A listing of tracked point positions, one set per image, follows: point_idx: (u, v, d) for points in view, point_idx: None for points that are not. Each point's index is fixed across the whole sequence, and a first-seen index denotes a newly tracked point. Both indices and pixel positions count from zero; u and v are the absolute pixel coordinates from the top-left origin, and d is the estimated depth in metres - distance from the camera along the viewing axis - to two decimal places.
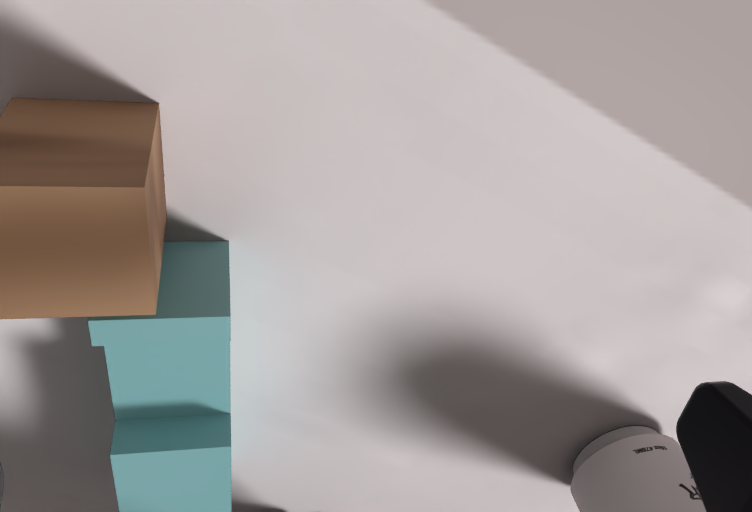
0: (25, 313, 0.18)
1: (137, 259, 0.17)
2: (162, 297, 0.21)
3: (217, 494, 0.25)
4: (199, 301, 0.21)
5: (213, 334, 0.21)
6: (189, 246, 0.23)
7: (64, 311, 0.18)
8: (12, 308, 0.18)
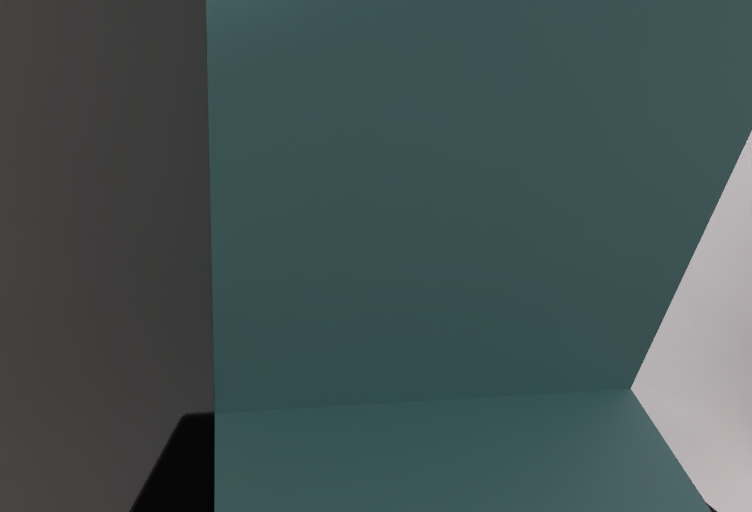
0: None
1: None
2: None
3: None
4: None
5: None
6: None
7: None
8: None
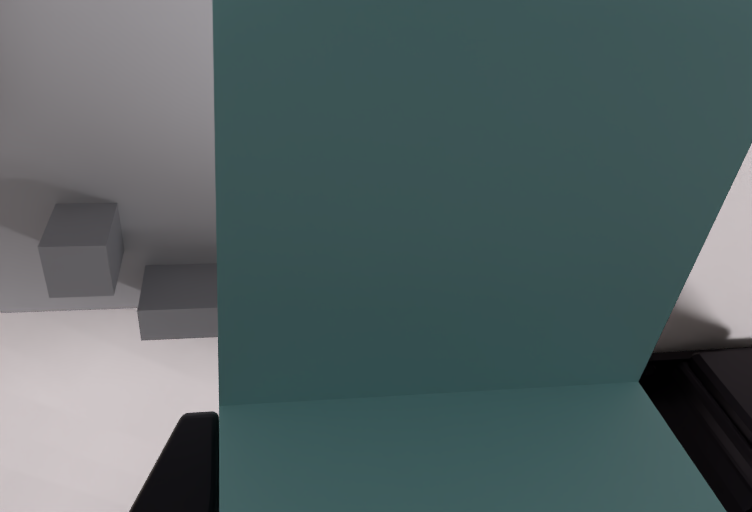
0: None
1: None
2: None
3: None
4: None
5: None
6: None
7: None
8: None
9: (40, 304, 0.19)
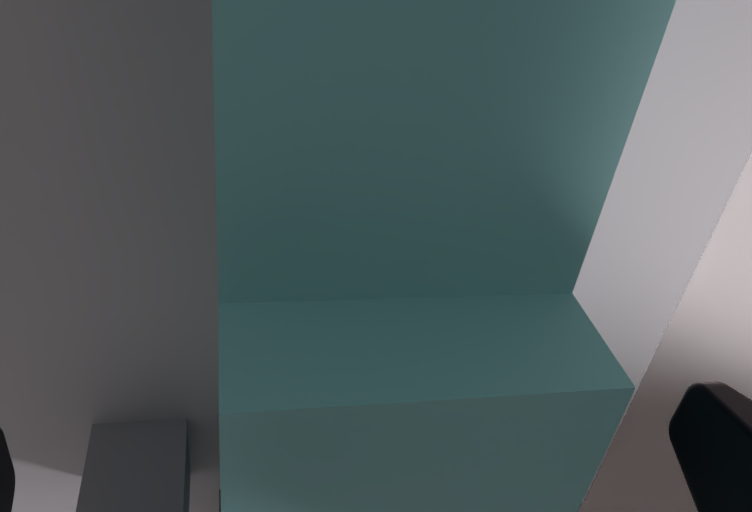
0: None
1: None
2: None
3: None
4: None
5: None
6: None
7: None
8: None
9: None
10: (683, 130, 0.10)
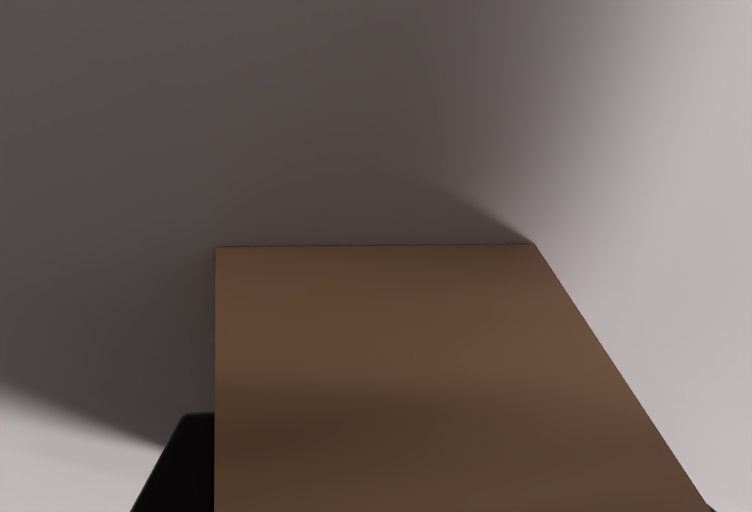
0: None
1: None
2: None
3: None
4: None
5: None
6: None
7: None
8: None
9: None
10: None
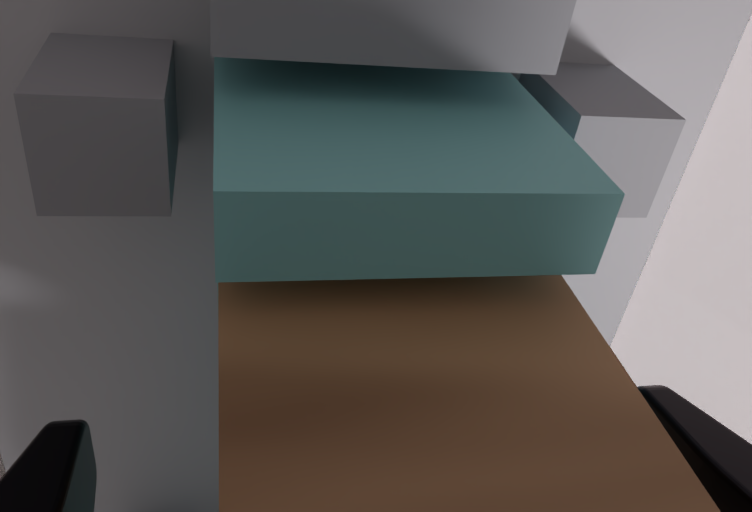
0: None
1: None
2: (409, 145, 0.07)
3: None
4: (513, 158, 0.07)
5: (559, 252, 0.07)
6: None
7: None
8: None
9: None
10: None
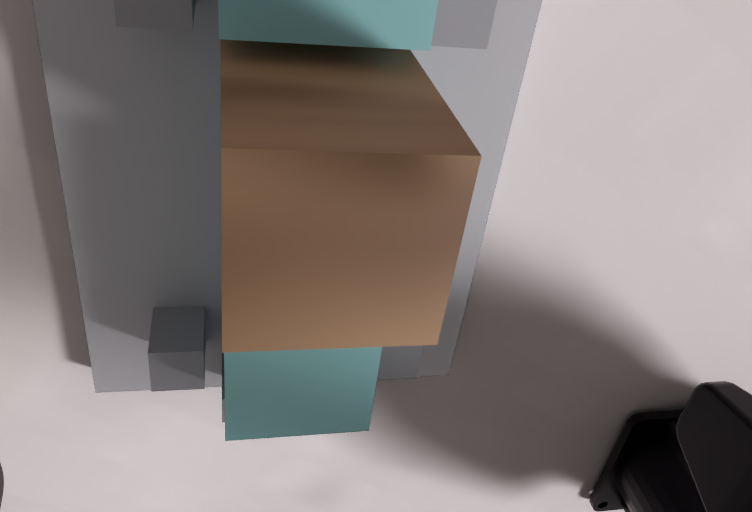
0: (265, 343, 0.12)
1: (438, 265, 0.12)
2: None
3: None
4: None
5: (407, 33, 0.13)
6: None
7: (318, 340, 0.12)
8: (249, 336, 0.12)
9: (129, 385, 0.22)
10: None
